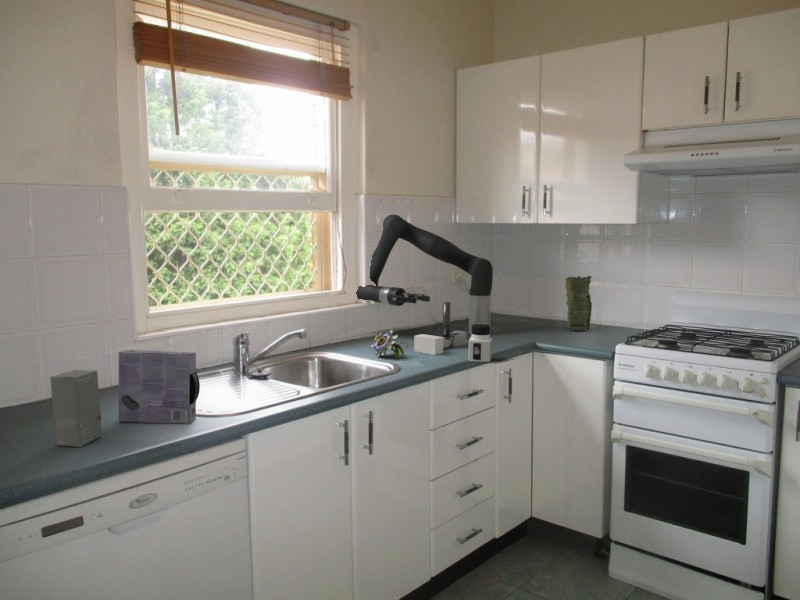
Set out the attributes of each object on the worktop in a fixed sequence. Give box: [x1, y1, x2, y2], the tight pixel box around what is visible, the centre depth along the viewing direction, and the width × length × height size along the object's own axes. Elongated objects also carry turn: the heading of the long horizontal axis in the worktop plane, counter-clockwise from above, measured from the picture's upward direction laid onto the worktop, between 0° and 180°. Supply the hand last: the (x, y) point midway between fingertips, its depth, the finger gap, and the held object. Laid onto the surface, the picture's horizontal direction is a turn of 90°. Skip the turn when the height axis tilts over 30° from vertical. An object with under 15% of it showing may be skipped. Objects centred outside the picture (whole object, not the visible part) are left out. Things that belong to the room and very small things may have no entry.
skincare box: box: [49, 369, 103, 448], centre depth 150 cm, size 8×7×16 cm
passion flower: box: [370, 329, 409, 360], centre depth 243 cm, size 11×11×12 cm
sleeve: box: [447, 330, 469, 349], centre depth 265 cm, size 9×5×5 cm, turn 139°
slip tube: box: [441, 301, 453, 349], centre depth 261 cm, size 16×3×17 cm, turn 139°
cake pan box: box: [118, 349, 201, 425], centre depth 165 cm, size 19×5×18 cm, turn 88°
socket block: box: [413, 333, 444, 356], centre depth 252 cm, size 5×10×6 cm, turn 49°
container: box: [467, 323, 493, 363], centre depth 239 cm, size 8×8×13 cm
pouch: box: [565, 275, 593, 331], centre depth 303 cm, size 11×12×25 cm
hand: (422, 299), depth 266 cm, fingers open, 8 cm apart
